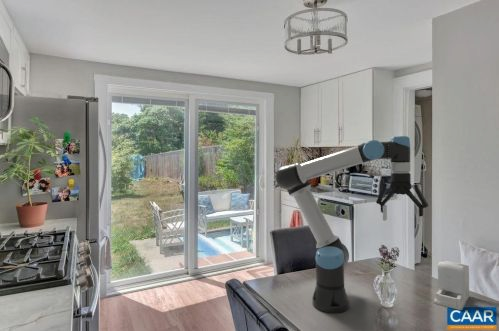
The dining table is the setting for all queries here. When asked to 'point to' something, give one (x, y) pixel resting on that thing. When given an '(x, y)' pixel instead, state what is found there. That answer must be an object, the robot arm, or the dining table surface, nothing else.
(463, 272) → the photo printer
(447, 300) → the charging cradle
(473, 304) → the dining table surface
